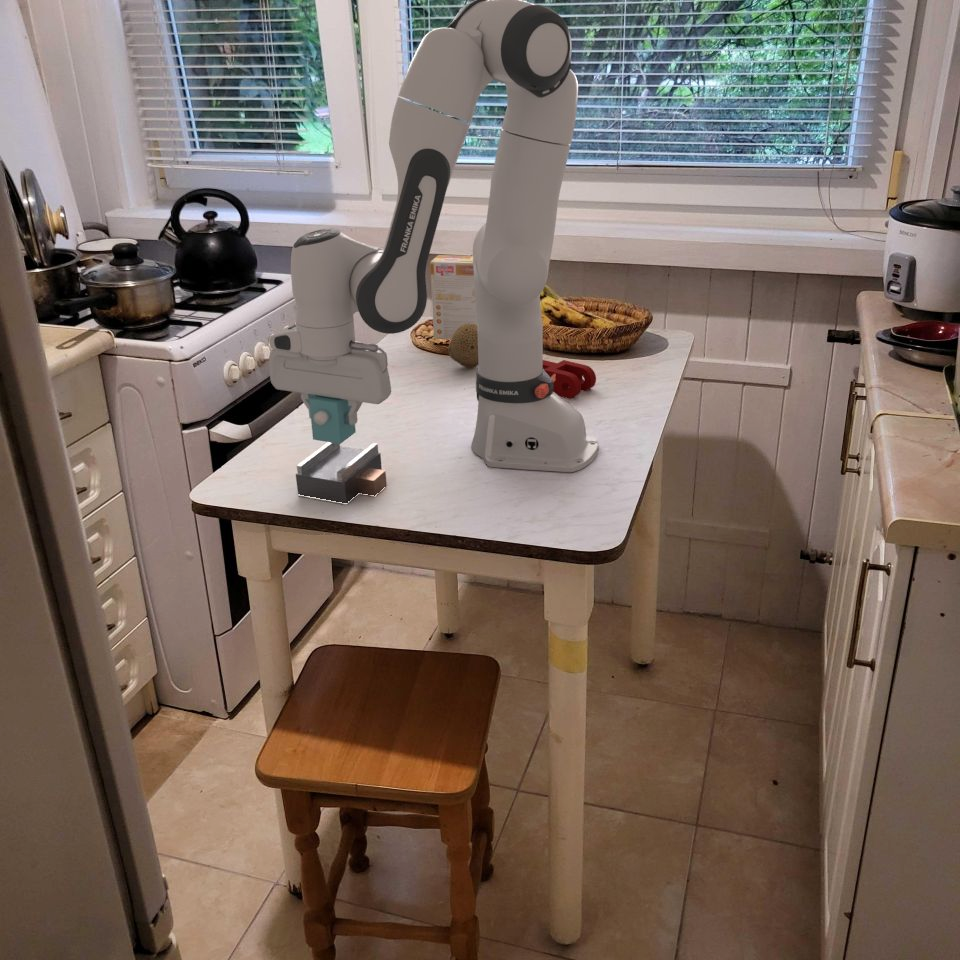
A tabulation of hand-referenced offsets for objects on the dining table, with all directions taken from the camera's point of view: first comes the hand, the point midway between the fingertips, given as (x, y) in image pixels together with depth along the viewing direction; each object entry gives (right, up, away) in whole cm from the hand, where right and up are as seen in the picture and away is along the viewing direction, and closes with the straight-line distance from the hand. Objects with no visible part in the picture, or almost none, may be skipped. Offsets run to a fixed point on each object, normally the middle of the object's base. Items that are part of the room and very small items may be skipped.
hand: (333, 420), depth 156 cm
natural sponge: (+22, +14, +55) cm, 60 cm away
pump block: (0, -2, +1) cm, 3 cm away
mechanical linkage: (+39, +9, +44) cm, 59 cm away
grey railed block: (+2, -11, +5) cm, 12 cm away
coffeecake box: (+21, +23, +71) cm, 78 cm away
